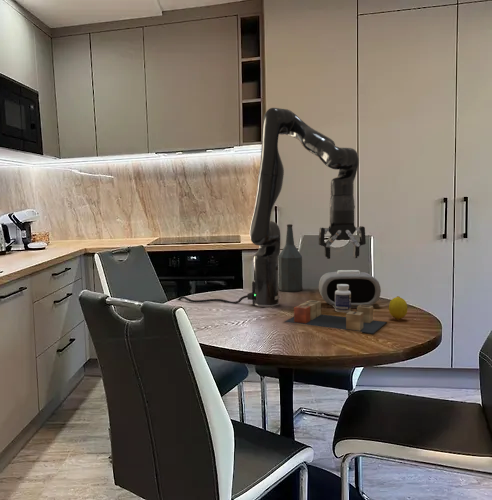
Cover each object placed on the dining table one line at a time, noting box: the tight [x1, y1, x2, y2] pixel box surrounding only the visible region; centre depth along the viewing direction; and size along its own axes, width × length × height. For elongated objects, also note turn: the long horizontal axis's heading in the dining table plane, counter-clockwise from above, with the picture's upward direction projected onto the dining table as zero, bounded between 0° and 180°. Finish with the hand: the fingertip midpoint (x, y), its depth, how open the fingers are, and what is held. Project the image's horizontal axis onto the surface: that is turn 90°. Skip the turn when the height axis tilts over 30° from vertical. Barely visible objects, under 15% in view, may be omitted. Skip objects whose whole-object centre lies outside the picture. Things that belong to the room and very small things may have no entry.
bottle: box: [278, 223, 303, 293], centre depth 219 cm, size 10×10×30 cm
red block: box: [293, 304, 310, 324], centre depth 163 cm, size 4×4×5 cm
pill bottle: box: [334, 284, 352, 314], centre depth 176 cm, size 5×5×10 cm
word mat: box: [284, 313, 388, 335], centre depth 161 cm, size 28×16×1 cm, turn 50°
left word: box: [299, 299, 322, 320], centre depth 169 cm, size 4×9×5 cm, turn 140°
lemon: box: [388, 296, 409, 321], centre depth 161 cm, size 6×6×8 cm
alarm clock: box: [318, 269, 382, 309], centre depth 184 cm, size 21×10×13 cm, turn 76°
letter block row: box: [345, 305, 374, 332], centre depth 156 cm, size 4×15×5 cm, turn 140°
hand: (341, 258), depth 161 cm, fingers open, 8 cm apart
